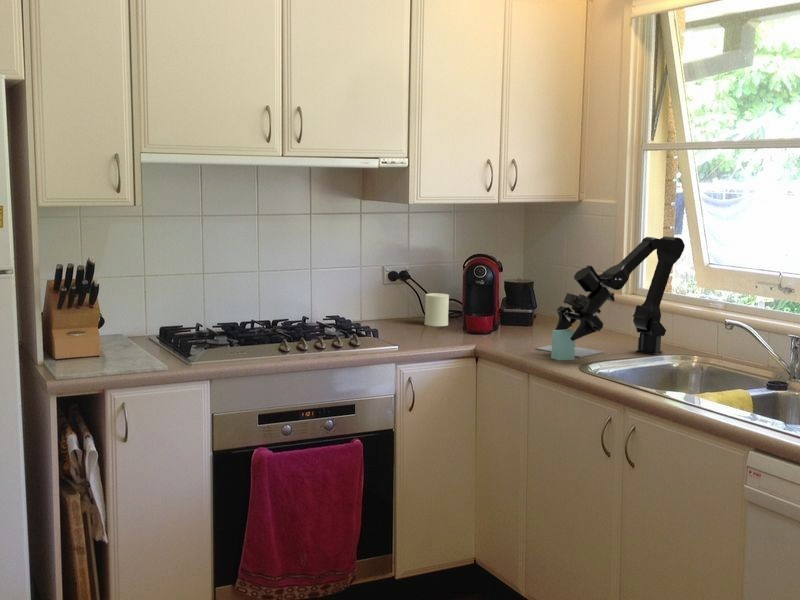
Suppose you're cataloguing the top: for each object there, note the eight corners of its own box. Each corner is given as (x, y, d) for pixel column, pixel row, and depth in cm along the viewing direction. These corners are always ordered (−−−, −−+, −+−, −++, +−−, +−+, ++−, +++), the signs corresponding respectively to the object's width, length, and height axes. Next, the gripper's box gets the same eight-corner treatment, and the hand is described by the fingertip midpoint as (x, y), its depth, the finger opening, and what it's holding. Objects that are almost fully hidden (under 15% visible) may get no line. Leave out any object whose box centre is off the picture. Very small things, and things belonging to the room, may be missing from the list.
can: (451, 323, 352) (452, 292, 350) (444, 327, 343) (445, 295, 341) (428, 321, 355) (429, 291, 353) (421, 325, 346) (422, 294, 344)
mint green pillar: (574, 359, 288) (575, 331, 287) (558, 360, 286) (559, 332, 284) (567, 356, 292) (568, 329, 291) (551, 358, 289) (552, 330, 288)
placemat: (603, 353, 299) (603, 351, 299) (580, 357, 290) (580, 356, 290) (558, 344, 312) (558, 343, 312) (535, 349, 303) (535, 348, 303)
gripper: (563, 281, 296) (532, 315, 293) (597, 288, 279) (565, 325, 276) (581, 304, 300) (551, 338, 297) (616, 312, 283) (585, 349, 280)
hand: (562, 337), depth 288 cm, fingers open, 9 cm apart
